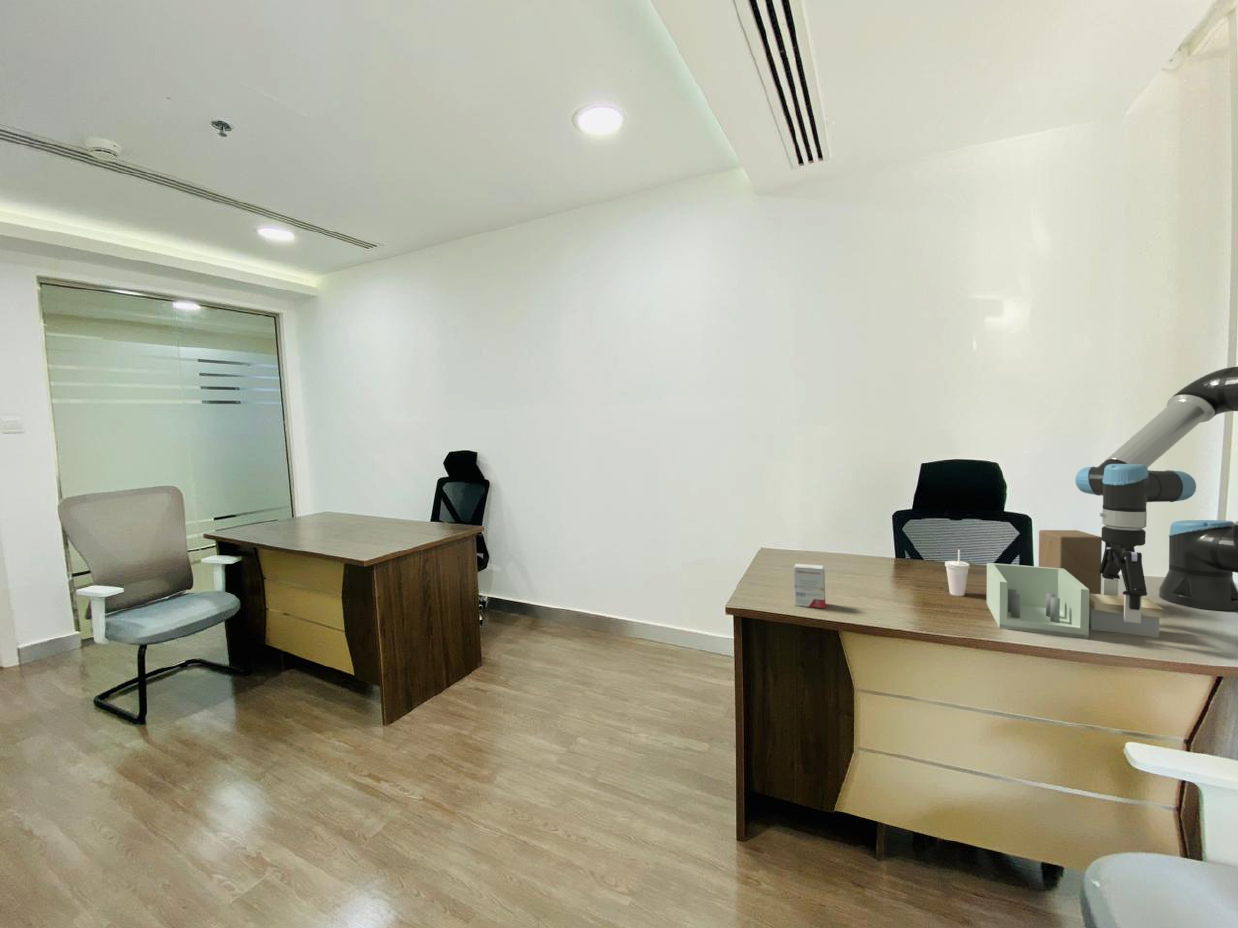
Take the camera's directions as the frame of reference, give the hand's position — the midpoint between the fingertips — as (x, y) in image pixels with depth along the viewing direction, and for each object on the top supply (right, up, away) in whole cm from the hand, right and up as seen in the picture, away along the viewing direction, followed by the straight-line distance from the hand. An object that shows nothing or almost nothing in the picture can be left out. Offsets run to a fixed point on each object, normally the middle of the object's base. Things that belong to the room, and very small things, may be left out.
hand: (1120, 612), depth 122 cm
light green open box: (-14, -5, +9) cm, 17 cm away
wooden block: (+6, -3, +21) cm, 22 cm away
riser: (0, -4, 0) cm, 5 cm away
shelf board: (0, +1, 0) cm, 1 cm away
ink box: (-66, -6, +26) cm, 72 cm away
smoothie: (-19, -4, +31) cm, 36 cm away
